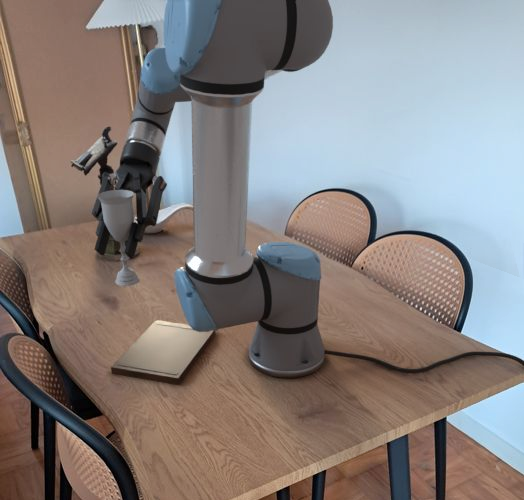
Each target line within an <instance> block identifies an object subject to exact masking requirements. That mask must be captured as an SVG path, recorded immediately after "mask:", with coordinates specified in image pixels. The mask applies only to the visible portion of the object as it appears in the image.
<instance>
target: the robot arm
mask: <svg viewBox="0 0 524 500" xmlns="http://www.w3.org/2000/svg"><path fill="white" fill-rule="evenodd" d="M164 7H165V8H164V15H163V46H164V47H162V46H161V47H155V48H153V49H151V50H150V51H148V53H147V54H146V56H145V58H144V60H143V63H142V66H141V69H140V72H139V73H140V74H139V75H140V77H139V83H138V84H139V85H138V90H137V95H136V99H135V100H136V101H135V105H134V109H133V112H132V117H131V120H130V123H129V127H128V130H127V133H126V136H125V140H124V144H123V148H122V151H121V154H120V158H119V166H118V168H117V169H116V170H115V171H114V173H112V174H108V173H107V172H104V173H103V174H102V184H101V185H100V188H99V191H98V193H97V196H98V195H99V194H100V193H102V192H106V191H111V190H113V186H114V190H129V191H132V192H134V195H135V207H136V211H135V212H136V217H137V219H135V220H136V221H137V222H138V223H136V222H132V226H131V230H130V233H129V237H128V241H127V244H126V248H125V252H124V253H125V254H126V255H127V256H128V257H129V259H134V258H135V256H136V255H135V252H136V248H137V247H138V244H139V243H142V242H143V240H144V236H145V233H144V232H145V228H146V227H147V226H155V225H156V223H157V218H158V213H159V210H160V207H161V203H162V198H163V193H164V192H165V190H166V188H167V186H168V183H167V182H166V179H164V177H163V175H158V176H156V173H157V171H158V167H159V164H160V159H161V158H160V157H161V155H162V151H163V148H164V144H165V140H166V137H167V131H168V128H169V125H170V121H171V119H172V116H173V115H172V114H173V112H174V109H175V106H176V103H186V102H187V103H188V102H191V152H192V153H191V156H192V159H191V160H192V205H193V211H192V212H193V213H192V214H193V215H192V216H193V217H192V218H193V221H192V222H193V246H192V247H191V248H189V249H188V251H187V252H186V253H185V256H184V257H185V258H184V267H181V266H180V267H179V268H177V269H175V271H174V274H173V277H174V285H175V291H176V293H177V297H178V300H179V303H180V308H181V309H182V312H183V315H184V317H185V319H186V322H187V324H188V325H190V326H191V328H192V329H194V330H195V331H197V332H205V331H212V330H215V331H216V332H217V331H219V330H221V329H226V328H231V327H236V326H241V325H246V324H252V323H256V322H257V324H256V326H255V329H254V332H253V335H252V338H251V340H250V343H249V347H248V362H249V363H250V365H251V366H252V367H253V368H254V369H255V370H256V371H258V372H260V373H262V374H265V375H267V376H271V377H273V378H274V377H275V378H281V379H292V378H303V377H306V376H309V375H311V374H314V373H315V372H317V371H318V370H320V369H321V368H322V367H323V365H324V362H325V358H326V357H325V356H326V355H329V356H334V357H335V356H336V357H344V358H350V359H357V360H364V361H368V362H372V363H376V364H378V365H381V366H383V367H386V368H388V369H390V370H393V371H396V372H400V373H405V374H419V373H420V374H421V373H424V372H425V373H426V372H428V371H431V370H433V369H435V368H437V367H440V366H442V365H445V364H449V363H450V364H451V363H452V362H455V361H458V360H461V359H463V358H467V357H472V356H473V357H474V356H476V357H477V356H481V357H482V356H483V357H500V358H505V359H510V360H513V361H515V362H517V363H518V364H521V365H522V366H523V367H524V359H522V358H520V357H518V356H516V355H514V354H510V353H506V352H496V351H467V352H464V353H461V354H457V355H454V356H452V357H448V358H446V359H442V360H439V361H437V362H434V363H432V364H430V365H427V366H423V367H419V368H406V367H405V368H404V367H399V366H396V365H394V364H391V363H388V362H386V361H384V360H381V359H379V358H375V357H372V356H367V355H364V354H363V355H362V354H356V353H348V352H341V351H336V350H329V349H325V346H324V342H323V338H322V335H321V332H320V329H319V325H318V319H319V318H318V317H319V307H320V306H319V303H320V291H321V290H320V287H321V280H322V270H321V259H320V258H321V257H320V256H319V254H317V253H316V252H315V251H314V250H312V249H311V248H309V247H306V246H303V245H301V244H298V243H293V242H288V241H287V242H285V241H269V242H268V241H267V242H264V243H262V244H260V245H259V246H258V247H257V249H256V252H255V253H256V254H255V255H256V256H253V254H252V252H251V251H249V249H248V248H246V243H247V242H246V241H247V221H248V220H247V219H248V199H249V180H250V179H249V177H250V160H251V159H250V158H251V136H252V117H253V115H252V114H253V102H254V100H255V99H256V98H257V97H258V96H259V95H260V94H261V93H262V92H263V91H264V89H265V81H266V80H267V79H269V78H271V77H273V76H275V75H277V74H279V73H281V72H285V73H295V72H298V71H300V70H303V69H305V68H307V67H309V66H311V65H313V64H314V63H315V62H317V61H318V60H319V59H321V58H322V56H323V55H324V54H325V52H326V50H327V48H328V47H329V45H330V42H331V39H332V35H333V30H334V16H333V12H332V6H331V4H330V1H329V0H166V1H165V6H164ZM115 181H116V182H117V184H116V185H115ZM151 186H152V188H151V193H150V196H149V201H148V205H147V199H148V188H149V187H151ZM147 206H148V207H147ZM91 215H92V217H94V218H95V219H96V220H97V222H98V223H97V226H96V230H95V235H96V236H97V239H96V242H95V245H94V250H95V251H96V253H97V252H98V253H99V254H100V255H104V254H105V251H106V247H107V244H108V240H109V236H110V232H109V230H108V229H107V227H106V225H105V223H104V219H103V212H102V205H101V201H100V200H99V198H98V197H96V199H95V202H94V205H93V207H92V210H91ZM134 255H135V256H134Z"/></svg>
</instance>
